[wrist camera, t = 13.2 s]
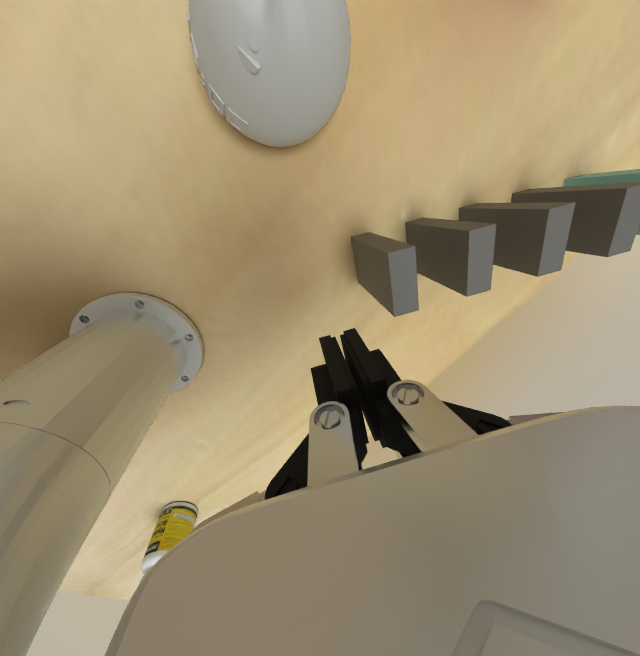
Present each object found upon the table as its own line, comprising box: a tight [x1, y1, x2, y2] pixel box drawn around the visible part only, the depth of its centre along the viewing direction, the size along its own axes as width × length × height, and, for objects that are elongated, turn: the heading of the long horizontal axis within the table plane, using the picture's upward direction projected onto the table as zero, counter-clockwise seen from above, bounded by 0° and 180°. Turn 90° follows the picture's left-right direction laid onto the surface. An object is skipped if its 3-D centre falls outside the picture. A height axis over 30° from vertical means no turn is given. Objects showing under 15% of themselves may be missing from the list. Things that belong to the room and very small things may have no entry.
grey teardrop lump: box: [188, 0, 351, 148], centre depth 15 cm, size 10×10×12 cm
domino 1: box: [351, 233, 419, 317], centre depth 23 cm, size 2×5×10 cm, turn 13°
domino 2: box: [406, 218, 496, 296], centre depth 23 cm, size 2×5×10 cm, turn 13°
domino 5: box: [564, 169, 640, 235], centre depth 24 cm, size 2×5×10 cm, turn 14°
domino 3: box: [459, 202, 576, 277], centre depth 24 cm, size 2×5×10 cm, turn 13°
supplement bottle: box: [140, 502, 198, 582], centre depth 37 cm, size 5×5×10 cm
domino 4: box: [511, 182, 640, 257], centre depth 24 cm, size 2×5×10 cm, turn 13°
